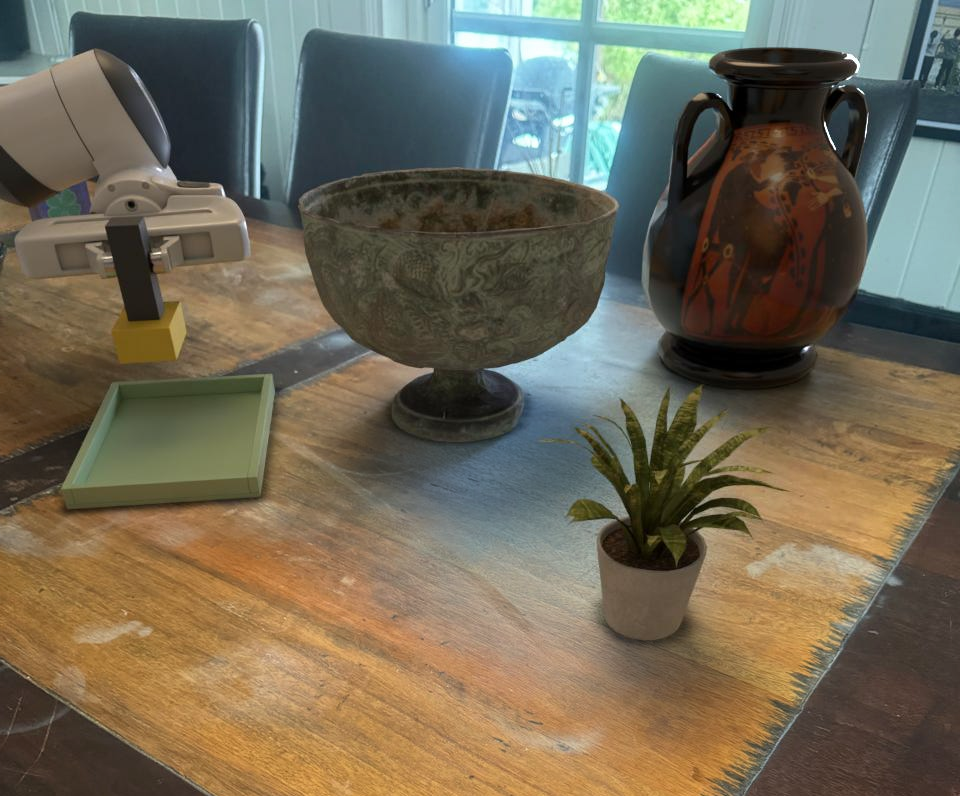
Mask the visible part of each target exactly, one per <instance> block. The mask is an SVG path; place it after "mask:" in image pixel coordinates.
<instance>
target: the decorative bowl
mask: <svg viewBox="0 0 960 796" xmlns="http://www.w3.org/2000/svg"><path fill="white" fill-rule="evenodd" d="M297 207H298V211H299V213H300V214H299V215H300V218H301V225H302V230H303V236H302V237H303V245H304V253H305V254H304V255H305V257H306V261H307V262H308V266H309V269H310V273H311V275H312V279H313V282H314V285H315V288H316V291H317V293H318V296H319V298H320V301H321V304H322V305H323V307H324V309H325V310H326V311H327V313H328V315H329V316H330V318H331V319H332V320H333V321H334V323H335V324H337V325H338V326H339V327H341V329H342V330H343V331H344V333H346V335H347V336H348V337H349V339H351V340H352V341H354V342H355V343H357V344H359V345H360V346H362V347H364V348H366V349H368V350H370V351H372V352H374V353H376V354H378V355H380V356H383V357H385V358H387V359H389V360H391V361H392V362H394V363H398V364H400V365H402V366H406V367H410V368H416V369H425V368H427V369H433V372H429V373H425V374H423V375H420V376H417V377H416V378H414V379H413V380H411V381H409V382H408V383H407V384H405V385H404V386H403V387H401V388H400V389H399V390H398V391H397V393H396V394H395V395H394V397H393V399H392V402H391V417H392V421H393V422H394V423H395V424H396V425H397V427H398V428H400V429H401V430H403V431H404V432H406V433H408V434H410V435H412V436H416V437H419V438H422V439H427V440H431V441H438V442H439V441H440V442H447V443H448V442H450V443H452V442H453V443H462V442H463V443H464V442H465V443H466V442H475V441H480V440H487V439H492V438H496V437H498V436H501V435H505V434H507V433H509V432H511V431H512V430H513V429H514V428H515V427H516V425H517V423H518V421H519V420H520V417H521V414H522V412H523V410H524V408H525V393H524V391H523V389H522V387H521V386H520V385H519V384H518V383H516V382H515V381H514V380H512V379H510V378H509V377H507V376H506V375H504V374H503V373H500V372H498V371H495V370H490V369H499V368H503V367H506V366H510V365H515V364H519V363H522V362H525V361H529V360H532V359H535V358H538V357H539V356H541V355H543V354H544V353H545V352H547V351H549V350H551V349H552V348H554V347H556V346H557V345H559V344H560V343H562V342H564V341H565V340H567V339H568V338H569V337H570V336H573V335H574V334H576V332H578V331H579V330H580V329H581V328H582V327H584V326H585V325H586V324H587V323H588V322H589V320H590V319H591V317H592V316H593V314H594V313H595V311H596V310H597V308H598V304H599V301H600V298H601V295H602V292H603V290H604V286H605V281H606V268H607V267H606V266H607V262H608V259H609V255H610V251H611V245H612V240H613V235H614V229H615V224H616V220H617V216H618V211H619V208H620V205H619V203H618V201H617V199H615V198H614V197H613V196H612V195H610V194H608V193H607V192H605V191H603V190H601V189H600V190H599V189H597V188H594V187H591V186H588V185H585V184H582V183H578V182H575V181H574V182H573V181H570V180H567V179H562V178H558V177H553V176H549V175H544V174H538V173H531V172H530V173H528V172H519V171H510V170H501V169H490V168H468V167H455V166H454V167H421V168H411V169H393V170H387V171H386V170H385V171H379V172H378V171H377V172H370V173H363V174H362V175H354V176H352V177H349V178H341V179H338V180H335V181H332V182H327V183H324V184H321V185H319V186H317V187H316V188H312V189H310V190H308V191H307V192H305V193H303V194H302V196H300V198H299V199H298V204H297Z"/></svg>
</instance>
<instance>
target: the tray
mask: <svg viewBox="0 0 960 796" xmlns="http://www.w3.org/2000/svg"><path fill="white" fill-rule="evenodd" d="M274 382H275V381H274V375H273V373H261V374H260V373H259V374H240V375H221V376H220V375H219V376H203V377H202V376H201V377H185V378H168V379H166V378H165V379H149V380H131V381H112V382H111V383H110V386H109V388H108V390H107V392H106V394H105V396H104V397H103V400H102V402H101V404H100V407H99V409H98V410H97V412H96V415H95V417H94V419H93V421H92V423H91V425H90V427H89V429H88V431H87V433H86V436H85V437H84V440H83V441H82V444H81V446H80V448H79V450H78V452H77V454H76V457H75V459H74V460H73V463H72V465H71V467H70V469H69V471H68V473H67V475H66V477H65V479H64V482H63V483H62V486H61V488H60V492H61V494H62V498H63V501H64V504H65V507H66V510H77V509H79V510H80V509H93V508H110V507H124V506H138V505H139V506H140V505H154V504H169V503H171V504H172V503H185V502H199V501H200V502H201V501H216V500H217V501H218V500H231V499H232V500H233V499H247V498H248V499H249V498H260V497H261V495H262V489H263V482H264V473H265V467H266V459H267V452H268V445H269V437H270V432H271V431H270V429H271V423H272V416H273V409H274V402H275V395H276V389H275V383H274Z"/></svg>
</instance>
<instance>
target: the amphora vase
mask: <svg viewBox="0 0 960 796" xmlns="http://www.w3.org/2000/svg"><path fill="white" fill-rule="evenodd" d="M707 63H708V64H707V65H708V70H709V72H710V73H711V74H712V75H713V76H715V77H717V78H719V79H721V80H722V81H723V82H724V83H726V95H727V96H726V99H727V100H725V99H723V98H722V96H720V94H718V93H716V92H709V91H708V92H701V93H700V92H699V93H698V94H696V95H695V96H693V97H692V98H690V99H689V100H688V101H686V103H685V105H684V107H683V109H682V110H681V112H680V114H679V116H678V118H677V120H676V124H675V128H674V134H673V137H672V143H671V155H670V167H669V178H668V184H667V185H666V187H665V189H664V190H663V192H662V193H661V196H660V198H659V200H658V201H657V203H656V206H655V209H654V211H653V213H652V217H651V218H650V221H649V224H648V228H647V232H646V236H645V239H644V243H643V247H642V261H641V262H642V263H641V281H640V282H641V286H642V290H643V295H644V298H645V301H646V303H647V304H648V306H649V308H650V310H651V312H652V314H653V315H654V317H655V318H656V320H657V321H658V322H659V324H660V325H661V327H663V329H664V330H665V331H664V332H663V334H662V335H661V337H659V339H658V341H657V354H658V356H659V358H660V359H661V361H662V362H663V364H664V365H665V366H666V367H667V368H669V369H670V370H671V371H673V372H675V373H676V374H678V375H680V376H682V377H684V378H686V379H689V380H691V381H693V382H698V383H701V384H704V385H709V386H714V387H720V388H726V389H739V390H740V389H743V390H754V389H755V390H756V389H769V388H773V387H780V386H785V385H788V384H791V383H794V382H796V381H799V380H801V379H802V378H803V377H805V376H806V375H808V374H809V373H810V372H812V371H813V370H814V368H815V366H816V363H817V361H818V358H819V354H818V351H817V348H816V345H815V343H816V342H817V341H818V340H819V339H821V338H822V337H824V336H825V335H826V334H828V333H829V332H830V331H832V330H833V328H834V327H836V326H837V325H838V324H839V323H840V321H841V320H842V319H843V318H844V317H845V316H847V313H848V312H849V310H850V308H851V306H852V305H853V304H854V302H855V300H856V298H857V296H858V292H859V290H860V287H861V283H862V279H863V275H864V272H865V268H866V266H867V255H868V254H867V251H868V237H869V235H868V224H867V213H866V210H865V204H864V200H863V196H862V194H861V191H860V189H859V186H858V184H857V181H856V180H857V177H858V172H859V168H860V163H861V158H862V154H863V149H864V145H865V141H866V135H867V128H868V121H869V112H870V111H869V107H868V103H867V99H866V95H865V93H864V92H863V91H862V90H860V88H858V86H856V85H855V84H844V85H841V86H838V87H835V88H834V86H837V85H838V84H839V83H840V82H844V81H846V80H849V79H851V78H853V76H855V75H856V73H858V71H859V68H860V63H859V61H858V59H857V58H855V57H854V56H853V55H852V54H848V53H845V52H841V51H836V50H830V49H823V48H822V49H821V48H809V47H785V46H784V47H781V46H779V47H778V46H777V47H776V46H774V47H773V46H772V47H771V46H767V47H765V46H764V47H745V48H743V47H742V48H734V49H728V50H724V51H719V52H717V53H716V54H714V55H713V56H712V57H711V58H710V59H709V60H708V62H707ZM842 102H846V103H847V106H848V107H847V108H848V112H849V113H848V129H847V130H848V131H847V137H846V140H845V143H844V147H843V151H842V155H840V153H839V152H838V150H837V149H836V147H835V145H834V142H833V141H832V139H831V137H830V134H829V131H828V127H829V123H830V120H831V117H832V114H833V113H834V112H835V110H836V109H837V108H838V107H839V106H840V105H841V103H842ZM709 109H711V110H712V112H713V113H714V115H715V117H716V128H715V130H714V132H713V133H712V134H711V135H710V137H709V138H708V139H707V140H706V141H705V143H703V144H702V146H701V147H700V148H698V149H697V151H695V153H693V155H691V157H690V158H689V147H690V144H691V139H692V135H693V132H694V128H695V125H696V123H697V121H698V119H699V117H700V115H701V114H702V113H703V112H705V110H709Z"/></svg>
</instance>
